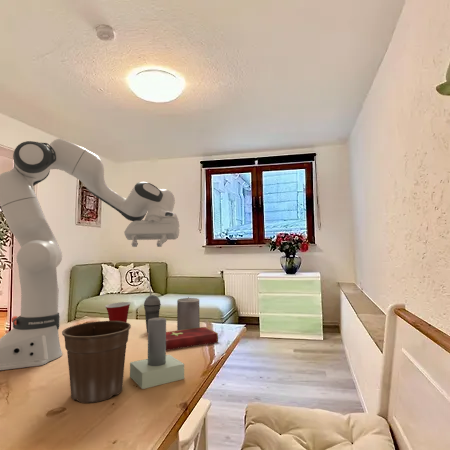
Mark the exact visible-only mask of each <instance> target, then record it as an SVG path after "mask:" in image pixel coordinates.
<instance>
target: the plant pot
mask: <svg viewBox="0 0 450 450" xmlns="http://www.w3.org/2000/svg"><path fill="white" fill-rule="evenodd" d="M131 327H132V325H131V323H129V322H128V321H127V322H123V321H109V320H102V321H101V320H99V321H90V322H84V323H80V324H79V323H78V324H76V325H72V326H69V327H66V328H64V329H63V330H62V332H61V333H62V336H63V338H64V348H65V349H66V353H67V362H68V363H67V365H68V374H69V387H70V388H69V389H70V397H71V399H72V400H73V401H76V400H77V402H79V403H86V404H90V403H91V404H93V403H100V402H102V401H103V402H104V401H106V400H107V401H108V400H109V399H111V398H112V397H113V396H118V395H119V394H120V393H121V392H122V391H123V388H124V373H125V361H126V351H127V343H128V342H129V332H130V329H131Z"/></svg>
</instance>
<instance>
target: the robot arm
mask: <svg viewBox="0 0 450 450" xmlns="http://www.w3.org/2000/svg"><path fill="white" fill-rule="evenodd" d="M12 153H13V154H12V158H13V167H12V169H11V170H7V171H5V172H2V173H0V209H1V210H2V213H3V216H4V218H5V220H6V223H7V225H8V227H9V230H10V233H12V234H13V236H14V237H15V239H16V241H17V243H18V244H19V246H20V248H19V250H18V251H17V254H16V263H17V266H18V268H17V269H18V277H19V284H20V297H21V298H20V315H19V316H17V315H13V316H12V317H11V323H12V329H11V330H10V331H8V332H7V333H5V334H4V335H3V336H2V337H0V371H4V370H6V371H7V370H12V369H13V370H14V369H21V368H30V367H38V366H43V365H45V364H47V363H49V362H51V361H54V360H57V359H58V358H60V357H61V356H63V351H62V348H61V347H62V346H61V343H60V336H59V335H60V334H59V329H60V325H61V321H60V320H61V319H60V318H61V317H60V312H59V283H58V275H57V268H58V267H59V265H60V264H61V263H62V260H63V251H62V249H61V247H60V245H59V244H58V240H57V238H56V237H55V234H54V233H53V230H52V228H51V227H50V224H49V223H48V221H47V219H46V216H45V213H44V211H43V209H42V206H41V204H40V202H39V199H38V196H37V193H36V192H35V187H34V186H36V185H37V184H39V183H41V182H43V181H45V180H46V179H47V178H48V176H49V175H50V171H51V170H60V171H63V172H64V173H67V174H69V175H71V176H72V177H74V178H76V179H77V180H79V181H80V182H81V183H82V184H83V185H84V186H85V189H86V190H87V191H88V192H89V193H90V194H91V195H93V196H95V197H96V198H98V199H99V200H100V201H102V202H103V203H105V204H106V205H108V206H109V207H111V208H113V209H114V210H115V211H117V212H118V213H119V214H121V216H122V217H123V218H125V219H126V220H128V221H131V222H130V223H129V224H128V226H127V227H126V228H125V230H124V231H123V232H124V236H125V238H126V239H127V240H128V241H132V242H131V247H133V248H137V247H138V244H139V243H138V240H139V241H142V240H143V241H145V240H147V241H149V240H153V241H155V240H156V247H159V248H162V247H163V245H164V243H166V242H168V240H177V239H178V238H179V236H180V221H179V218H178V215H177V214H176V213H174V212H173V210H174V208H175V203H176V200H175V196H174V194H173V192H171V191H170V190H169V189H165V188H162V189H161V188H158V187H157V186H156V185H154V184H153V183H151V182H146V181H139V182H136V183H135V185H134V186H133V187H132V190H131V191H130V193H129V194H128V196H127V197H123V196H122V195H120V194H119V193H117V192H116V191H115V190H113V189H111V188H110V187H109V186H108V185H107V184H106V180H105V168H104V164H103V161H102V160H101V158H100V157H99V156H98V155H97V154H96V153H93V152H92V151H90V150H89V149H86V148H85V147H83V146H80V145H78V144H76V143H74V142H71V141H69V140H66V139H63V138H56V139H54V140H53V141H51V143H50V144H49V143H47V142H39V141H31V140H29V141H27V140H26V141H22V142H21V143H19V144H18V145H17V146H16V147H15V148H14V151H13V152H12Z"/></svg>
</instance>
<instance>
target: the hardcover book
mask: <svg viewBox="0 0 450 450" xmlns="http://www.w3.org/2000/svg"><path fill="white" fill-rule="evenodd" d="M215 343H219V332H216V331H215V330H213V329H210V328H209V327H207V326H202V327H201V326H200V328H192V329H185V330H170V331H166V351H172V350H173V351H174V350H179V349H184V348H191V347H198V346H203V345H210V344H215Z"/></svg>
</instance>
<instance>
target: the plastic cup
mask: <svg viewBox="0 0 450 450" xmlns="http://www.w3.org/2000/svg"><path fill="white" fill-rule="evenodd" d="M130 306H131V302H130V301H120V302H113V303H108V304H106V305H104V307H105V309H106V311H107V314H108V315H107V317H108V321H123V322H127V323H128V316H129V310H130Z"/></svg>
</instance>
